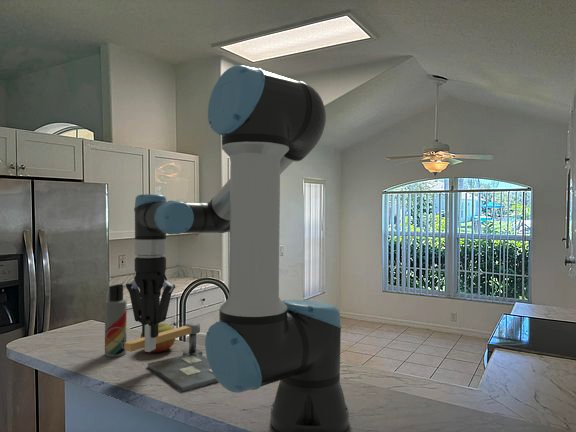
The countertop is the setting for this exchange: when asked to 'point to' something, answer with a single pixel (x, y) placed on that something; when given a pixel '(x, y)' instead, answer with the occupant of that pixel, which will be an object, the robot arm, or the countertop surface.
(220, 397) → the countertop surface
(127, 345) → the cable arm
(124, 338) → the lotion bottle
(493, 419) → the countertop surface
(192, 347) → the post
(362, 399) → the countertop surface
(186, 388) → the plate
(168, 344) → the apple
